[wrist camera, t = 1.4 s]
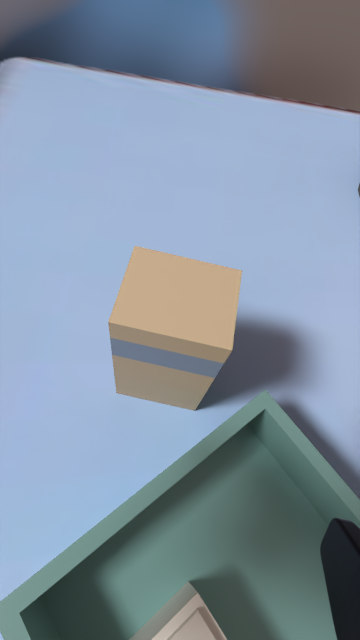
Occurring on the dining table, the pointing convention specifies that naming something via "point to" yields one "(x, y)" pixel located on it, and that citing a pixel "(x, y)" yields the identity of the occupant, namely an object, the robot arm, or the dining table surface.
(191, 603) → the beige rectangular block
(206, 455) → the tote
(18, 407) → the dining table surface
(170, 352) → the oat carton
